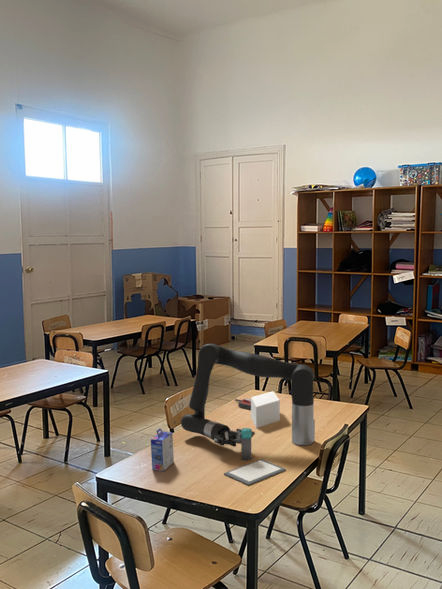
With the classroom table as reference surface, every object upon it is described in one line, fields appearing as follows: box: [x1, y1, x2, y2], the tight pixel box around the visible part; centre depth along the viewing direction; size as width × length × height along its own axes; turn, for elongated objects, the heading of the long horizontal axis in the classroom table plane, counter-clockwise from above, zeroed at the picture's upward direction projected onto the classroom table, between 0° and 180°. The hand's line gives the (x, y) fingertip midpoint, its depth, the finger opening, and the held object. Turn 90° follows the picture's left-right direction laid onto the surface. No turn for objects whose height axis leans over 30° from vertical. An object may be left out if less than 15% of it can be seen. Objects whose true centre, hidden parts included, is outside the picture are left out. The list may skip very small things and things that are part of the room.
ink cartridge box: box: [150, 428, 175, 472], centre depth 225 cm, size 10×6×14 cm, turn 161°
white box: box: [250, 390, 281, 429], centre depth 282 cm, size 14×29×10 cm, turn 159°
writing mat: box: [223, 458, 287, 486], centre depth 219 cm, size 20×13×1 cm, turn 132°
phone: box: [234, 431, 256, 444], centre depth 257 cm, size 7×1×15 cm
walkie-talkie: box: [234, 398, 251, 411], centre depth 303 cm, size 9×4×20 cm
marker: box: [240, 427, 253, 461], centre depth 232 cm, size 4×4×12 cm
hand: (243, 441), depth 233 cm, fingers open, 8 cm apart
